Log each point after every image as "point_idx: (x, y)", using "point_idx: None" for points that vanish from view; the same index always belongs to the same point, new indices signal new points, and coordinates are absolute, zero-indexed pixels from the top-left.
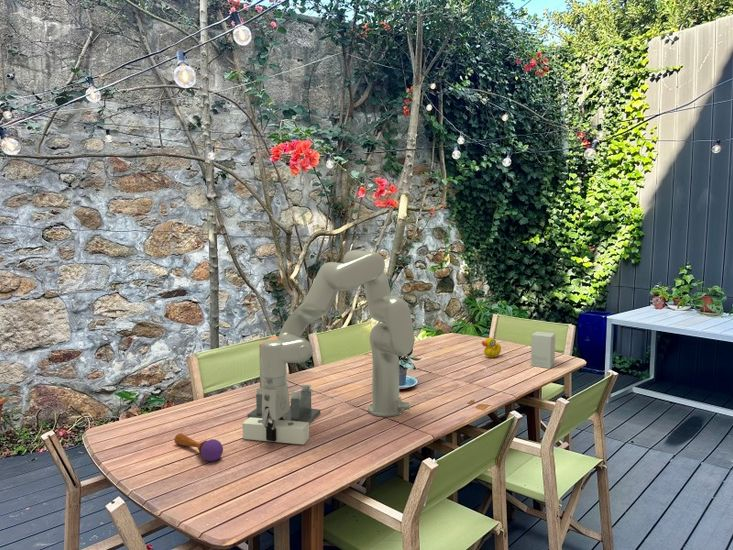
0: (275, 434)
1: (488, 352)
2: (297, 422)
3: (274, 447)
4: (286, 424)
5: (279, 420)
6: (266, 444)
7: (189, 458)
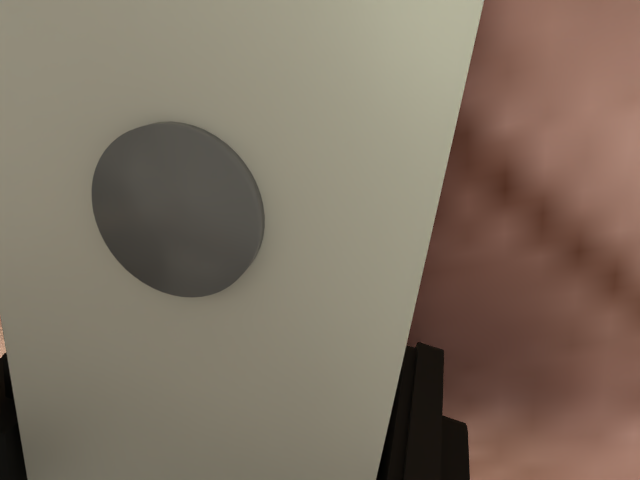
0: (440, 420)
1: None
2: (24, 22)
3: (548, 324)
4: (226, 319)
5: (55, 474)
6: None
7: None
